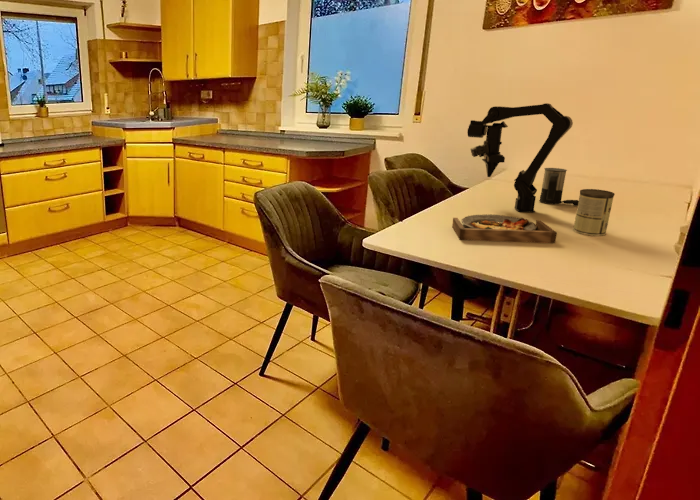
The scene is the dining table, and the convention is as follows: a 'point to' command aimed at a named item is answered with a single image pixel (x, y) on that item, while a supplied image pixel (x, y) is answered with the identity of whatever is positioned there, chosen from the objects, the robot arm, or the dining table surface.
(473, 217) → the food plate
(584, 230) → the coffee can
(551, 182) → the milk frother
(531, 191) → the robot arm
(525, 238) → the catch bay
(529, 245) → the dining table surface
